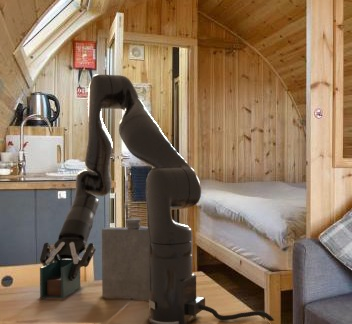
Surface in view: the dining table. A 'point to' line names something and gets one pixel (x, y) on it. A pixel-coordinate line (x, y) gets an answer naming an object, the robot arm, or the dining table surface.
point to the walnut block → (54, 286)
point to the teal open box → (58, 270)
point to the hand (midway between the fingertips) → (57, 279)
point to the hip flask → (126, 261)
